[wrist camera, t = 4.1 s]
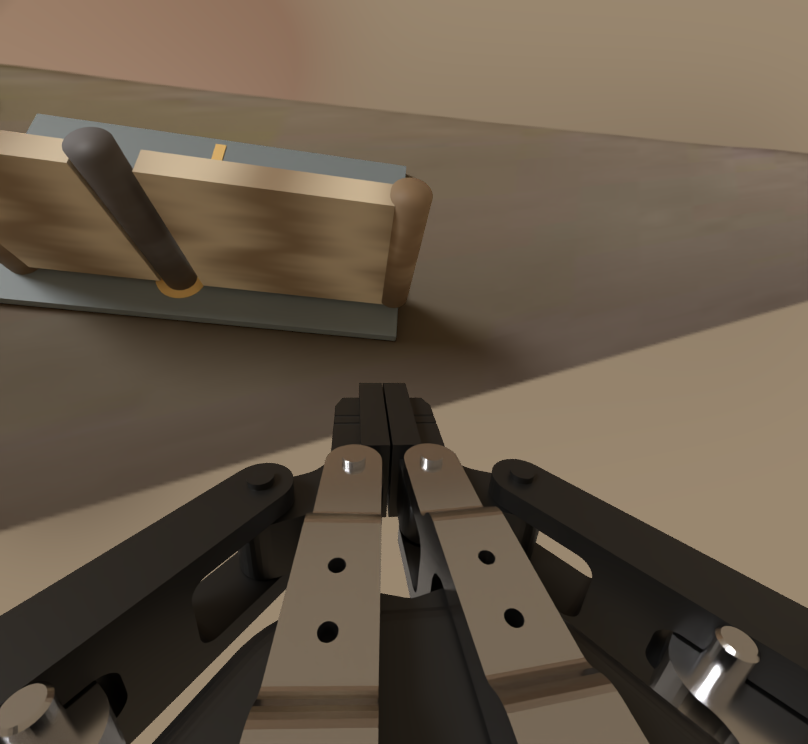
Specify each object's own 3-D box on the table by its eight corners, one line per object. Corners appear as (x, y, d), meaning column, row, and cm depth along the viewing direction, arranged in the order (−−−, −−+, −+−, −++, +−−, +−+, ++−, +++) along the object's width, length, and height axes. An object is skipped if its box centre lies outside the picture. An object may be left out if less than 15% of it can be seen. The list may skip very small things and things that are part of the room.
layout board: (-53, 297, 22) (-65, 291, 21) (43, 122, 27) (36, 112, 26) (395, 340, 24) (396, 336, 24) (404, 172, 29) (406, 165, 29)
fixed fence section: (11, 278, 22) (-209, 122, 14) (23, 253, 23) (-179, 88, 14) (197, 297, 24) (106, 164, 15) (204, 272, 24) (120, 130, 15)
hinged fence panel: (202, 289, 23) (127, 172, 15) (209, 264, 23) (140, 139, 16) (406, 311, 24) (432, 213, 16) (407, 286, 25) (432, 180, 17)
